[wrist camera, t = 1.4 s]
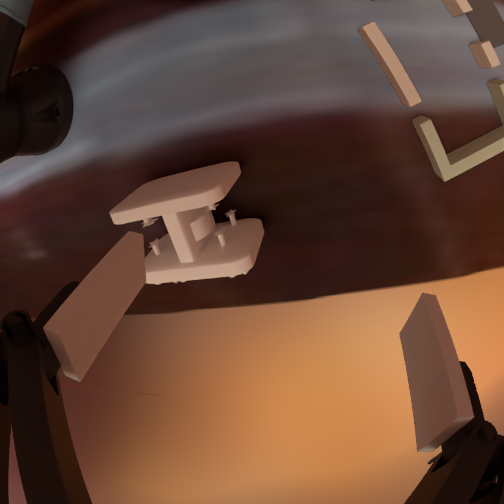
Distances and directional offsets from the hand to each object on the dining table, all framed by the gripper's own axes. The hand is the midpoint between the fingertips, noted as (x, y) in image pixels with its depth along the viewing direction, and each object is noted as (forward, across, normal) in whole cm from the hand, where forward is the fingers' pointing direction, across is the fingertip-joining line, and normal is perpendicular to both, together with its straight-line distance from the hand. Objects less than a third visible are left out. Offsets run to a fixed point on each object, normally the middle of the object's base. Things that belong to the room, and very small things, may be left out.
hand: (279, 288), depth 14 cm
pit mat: (+27, +20, +24) cm, 41 cm away
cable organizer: (+28, -11, -10) cm, 31 cm away
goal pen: (+27, +20, +9) cm, 35 cm away
